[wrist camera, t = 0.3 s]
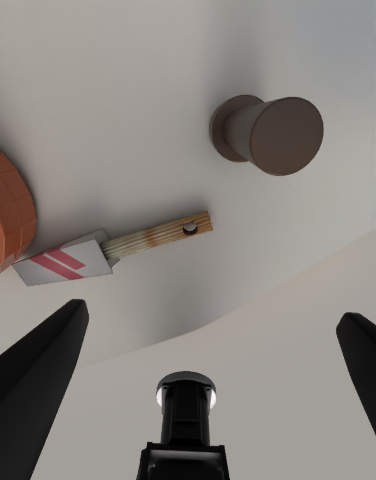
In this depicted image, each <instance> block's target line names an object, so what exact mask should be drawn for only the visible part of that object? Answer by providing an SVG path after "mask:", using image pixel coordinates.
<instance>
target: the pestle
mask: <svg viewBox="0 0 376 480" xmlns="http://www.w3.org/2000/svg"><path fill="white" fill-rule="evenodd" d="M323 131H324V129H323V121H322V118H321V115H320V113H319V111H318V110H317V108H316V107H315V106H314V105H313V104H312V103H311V102H309V101H307V100H305V99H303V98H299V97H286V98H281V99H277V100H273V101H269V102H263V101H262V100H261V99H259V98H257V97H255V96H252V95H240V96H236V97H233V98H231V99H229V100H228V101H226V102H224V103H223V104H221V105H220V106H219V107H218V108H217V109H216V111H215V112H214V114H213V116H212V118H211V121H210V126H209V135H210V140H211V142H212V144H213V146H214V147H215V149H216V150H217V151H218V152H219V153H220V154H221V155H222V156H223V157H224V158H226V159H227V160H230V161H233V162H247V161H250V162H251V163H252V164H254V165H255V166H257V167H258V168H259V169H261V170H262V171H264V172H266V173H268V174H271V175H276V176H284V175H289V174H293V173H295V172H297V171H299V170H301V169H302V168H304V167H305V166H306V165H307V164H308V163H310V161H311V160H312V159H313V158H314V157H315V155H316V154H317V152H318V150H319V148H320V146H321V143H322V139H323Z"/></svg>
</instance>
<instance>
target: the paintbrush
mask: <svg viewBox="0 0 376 480" xmlns="http://www.w3.org/2000/svg"><path fill="white" fill-rule="evenodd" d="M187 222H192V223H194V224H196V228H195V229H194V230H193V231H188V230H187V229H185V228H184V225H185V224H186V223H187ZM212 230H213V228H212V224H211V221H210V217H209V214H208V211H205V212H201V213H198V214H195V215H192V216H189V217H185V218H182V219H179V220H176V221H172V222H169V223H166V224H163V225H160V226H156V227H153V228H150V229H146V230H143V231H139V232H136V233H133V234H130V235H126V236H123V237H120V238H116V239H113V240H110V239H109V237H108V235H107V233H106V231H105V229H104V228H103V229H101V230H98V231H96V232H93V233H90V234H88V235H85V236H83V237H80V238H78V239H75V240H73V241H70V242H67V243H65V244H62V245H60V246H57V247H55V248H52V249H49V250H47V251H44V252H42V253H39V254H37V255H34V256H32V257H29V258H26V259H24V260H21V261H19V262H16V263H14V264H11V265H12V266H13V267H14V269H15V270H16V272H17V273H18V274H19V276H20V277H21V278H22V280H23V281H24V283H25V284H26V285H27V286H33V285H40V284H47V283H54V282H60V281H67V280H74V279H81V278H88V277H94V276H101V275H108V274H113V272H112V268H111V267H113V266H114V265H115V264H116V263H117V262H118V261H119V260H120V259H119V257H121V256H124V255H128V254H131V253H135V252H138V251H141V250H145V249H148V248H152V247H155V246H158V245H162V244H165V243H169V242H172V241H176V240H179V239H183V238H187V237H190V236H194V235H197V234H201V233H205V232H208V231H212Z"/></svg>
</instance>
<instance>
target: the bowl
mask: <svg viewBox="0 0 376 480" xmlns="http://www.w3.org/2000/svg"><path fill="white" fill-rule="evenodd" d="M35 227H36V212H35V208H34V204H33V200H32V196H31V193H30V191H29V190H28V188H27V186H26V184H25V183H24V181H23V179H22V177H21V176H20V174H19V172H18V170H17V169H16V167H15V166H14V165H13V164H12V163H11V162H10V161H9V160H8V159H7V158H6V157H5V156H4V155H3V154H2V153H1V152H0V273H1V272H2V271H3V270H5V269H6V268H7V267H8V266H10V265H11V264H12V263H14V262H15V261H16V260H17V259H19V258H20V257H21V256H22V255H24V254H25V253H26V251H27V250H28V248H29V246H30V244H31V242H32V241H33V239H34V236H35Z"/></svg>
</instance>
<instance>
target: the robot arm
mask: <svg viewBox="0 0 376 480" xmlns="http://www.w3.org/2000/svg"><path fill="white" fill-rule="evenodd" d="M88 322H89V314H88V310H87V306H86V302H85V300H83V299H72V300H70V301H69V302H67V303H66V304H65V305H64V306H62V307H61V308H60V309H58V310H57V311H56V312H55V313H53V314H52V315H51V316H49V317H48V318H47V319H46V320H44V321H43V322H42V323H41V324H39V325H38V326H37V327H35V328H34V329H33V330H32V331H30V332H29V333H28V334H27V335H25V336H24V337H23V338H21V339H20V340H19V341H18V342H16V343H15V344H14V345H12V346H11V347H10V348H9V349H7V350H6V351H5V352H4V353H2V354H1V355H0V480H30V478H31V476H32V474H33V471H34V469H35V466H36V464H37V461H38V459H39V456H40V454H41V451H42V449H43V446H44V444H45V441H46V439H47V436H48V434H49V432H50V429H51V427H52V424H53V422H54V419H55V417H56V414H57V412H58V409H59V406H60V404H61V402H62V399H63V397H64V394H65V392H66V389H67V387H68V384H69V382H70V379H71V377H72V374H73V372H74V369H75V367H76V364H77V360H78V357H79V354H80V350H81V347H82V343H83V340H84V336H85V333H86V329H87V326H88ZM336 334H337V338H338V341H339V344H340V347H341V350H342V352H343V356H344V359H345V362H346V365H347V368H348V371H349V374H350V377H351V379H352V382H353V384H354V386H355V389H356V391H357V393H358V396H359V398H360V400H361V403H362V405H363V407H364V410H365V412H366V414H367V416H368V419H369V421H370V423H371V425H372V428H373V430H374V432H375V435H376V325H375V324H374V323H372V322H371V321H369V320H368V319H367V318H365V317H364V316H363V315H361V314H359V313H352V312H347V313H345V314H344V315H343V317H342V318H341V320H340V322H339V324H338V325H337V327H336ZM211 395H212V385H210V384H195V383H168V382H165V383H162V386H161V397H162V414H163V422H162V433H161V443H152V442H147V447H146V449H144V450H142V452H141V458H140V465H139V470H138V474H137V478H136V480H230V478H229V472H228V466H227V460H226V453H225V447H224V445H219V446H210V437H209V418H208V416H209V411H210V403H211Z"/></svg>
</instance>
